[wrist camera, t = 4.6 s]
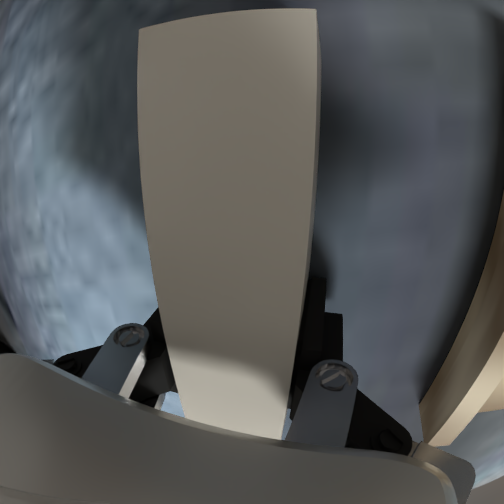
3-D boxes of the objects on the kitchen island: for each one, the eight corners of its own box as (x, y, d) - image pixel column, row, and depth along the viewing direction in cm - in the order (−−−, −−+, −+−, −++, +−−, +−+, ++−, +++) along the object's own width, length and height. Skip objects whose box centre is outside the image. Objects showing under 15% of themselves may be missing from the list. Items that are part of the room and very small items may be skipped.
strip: (214, 59, 8) (138, 29, 4) (321, 58, 8) (316, 9, 4) (222, 346, 14) (186, 422, 10) (297, 358, 13) (280, 442, 9)
